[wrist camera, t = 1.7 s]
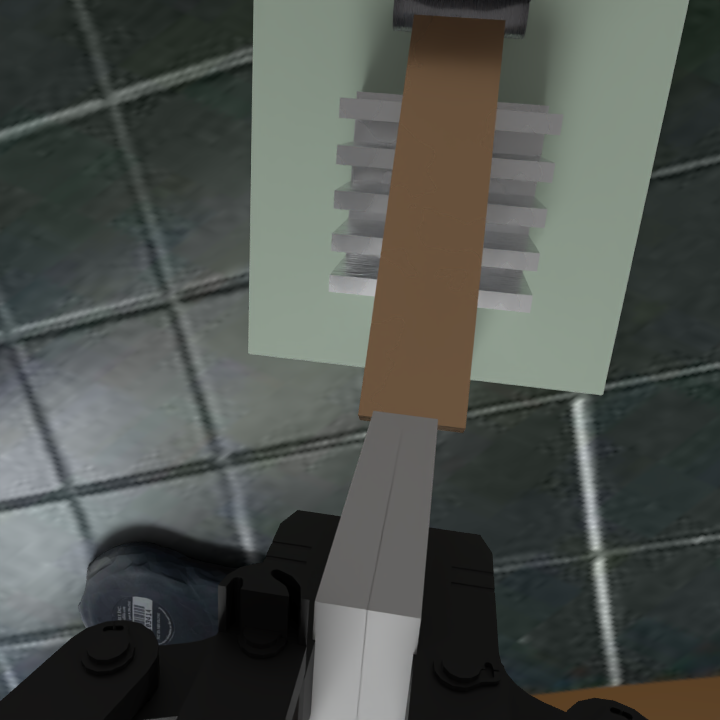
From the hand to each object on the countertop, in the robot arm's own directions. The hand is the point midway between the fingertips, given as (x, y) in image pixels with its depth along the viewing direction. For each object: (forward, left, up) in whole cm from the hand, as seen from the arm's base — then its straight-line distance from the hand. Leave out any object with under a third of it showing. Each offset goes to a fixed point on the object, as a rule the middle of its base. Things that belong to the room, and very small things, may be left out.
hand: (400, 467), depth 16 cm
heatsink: (0, +5, -18) cm, 18 cm away
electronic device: (-12, -23, -20) cm, 32 cm away
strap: (0, +5, -8) cm, 10 cm away
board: (0, +4, -19) cm, 20 cm away
